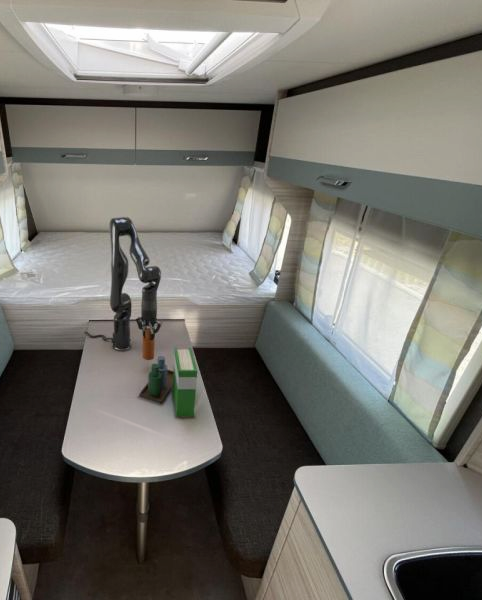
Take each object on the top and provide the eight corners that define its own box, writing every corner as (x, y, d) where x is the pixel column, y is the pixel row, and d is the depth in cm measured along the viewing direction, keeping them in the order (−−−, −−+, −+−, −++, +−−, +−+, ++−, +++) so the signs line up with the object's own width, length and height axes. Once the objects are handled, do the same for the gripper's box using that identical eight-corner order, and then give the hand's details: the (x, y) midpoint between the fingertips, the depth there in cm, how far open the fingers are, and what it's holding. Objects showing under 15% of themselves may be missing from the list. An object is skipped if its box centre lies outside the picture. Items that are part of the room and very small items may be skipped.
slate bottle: (152, 387, 157) (152, 359, 151) (157, 380, 162) (158, 353, 156) (163, 391, 155) (164, 362, 148) (168, 383, 160) (169, 356, 153)
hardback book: (172, 390, 156) (174, 347, 147) (188, 390, 156) (191, 347, 147) (176, 417, 140) (178, 371, 130) (193, 417, 140) (197, 371, 130)
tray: (139, 397, 152) (139, 393, 151) (159, 370, 171) (160, 367, 170) (161, 404, 147) (161, 401, 146) (179, 376, 166) (180, 373, 165)
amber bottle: (140, 358, 166) (140, 330, 160) (145, 352, 171) (146, 325, 164) (151, 361, 164) (151, 333, 157) (156, 355, 169) (156, 328, 162)
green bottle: (145, 395, 152) (146, 367, 145) (151, 388, 156) (151, 360, 150) (157, 399, 149) (158, 371, 143) (162, 392, 154) (163, 364, 148)
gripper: (165, 307, 156) (164, 338, 163) (139, 301, 162) (139, 331, 169) (159, 313, 150) (158, 345, 157) (132, 306, 156) (132, 338, 163)
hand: (148, 337), depth 163 cm, fingers closed on amber bottle, 3 cm apart
